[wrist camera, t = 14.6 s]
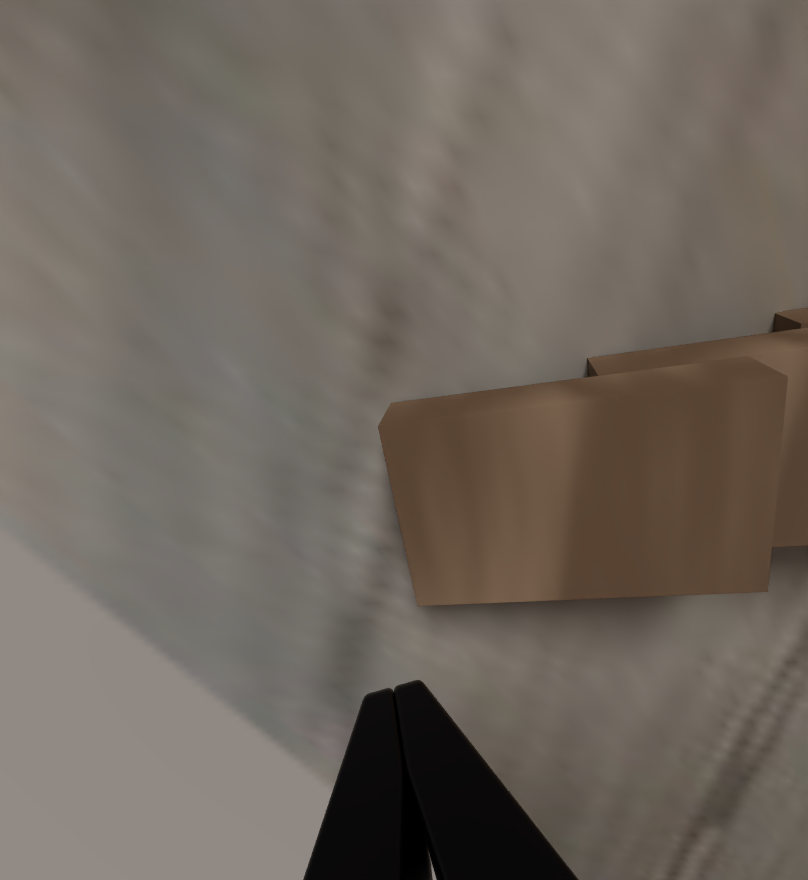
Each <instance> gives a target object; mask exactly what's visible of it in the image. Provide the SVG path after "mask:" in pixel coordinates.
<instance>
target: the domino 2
mask: <svg viewBox="0 0 808 880" xmlns="http://www.w3.org/2000/svg"><path fill="white" fill-rule="evenodd" d="M746 356H749V357H751V358H753V359H755V360H757V361H759V362H761V363H763V364H765V365H767V366H768V367H770V368H772V369H774V370H776V371H778V372H780V373H782V374H784V375H786V376H788V383H787V393H786V404H785V415H784V425H783V436H782V446H781V457H780V467H779V478H778V488H777V499H776V510H775V520H774V531H773V541H772V547H788V546H808V328H801V329H794V330H787V331H780V332H772V333H765V334H758V335H751V336H744V337H736V338H729V339H722V340H715V341H707V342H700V343H693V344H686V345H679V346H671V347H664V348H657V349H650V350H643V351H635V352H628V353H621V354H614V355H606V356H599V357H592V358H587V360H588V377H593V376H601V375H609V374H616V373H624V372H632V371H639V370H647V369H654V368H662V367H670V366H677V365H685V364H692V363H700V362H708V361H715V360H723V359H731V358H738V357H746Z"/></svg>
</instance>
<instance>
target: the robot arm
mask: <svg viewBox="0 0 808 880" xmlns="http://www.w3.org/2000/svg"><path fill="white" fill-rule="evenodd" d="M428 850H429V851H428ZM429 854H430V857H431V861H432V865H433V868H434V872H435V875H436V879H437V880H578V879H577V877H576V876H575V875H574V873H573V872H572V871H571V870H570V868H569V867H568V866H567V865H566V863H565V862H564V861H563V859H562V858H561V857H560V856H559V854H558V853H557V852H556V851H555V849H554V848H553V847H552V845H551V844H550V843H549V842H548V840H547V839H546V838H545V837H544V835H543V834H542V833H541V832H540V830H539V829H538V828H537V826H536V825H535V824H534V823H533V821H532V820H531V819H530V818H529V816H528V815H527V814H526V812H525V811H524V810H523V809H522V807H521V806H520V805H519V804H518V802H517V801H516V800H515V798H514V797H513V796H512V795H511V793H510V792H509V791H508V790H507V788H506V787H505V786H504V784H503V783H502V782H501V781H500V779H499V778H498V777H497V776H496V774H495V773H494V772H493V770H492V769H491V768H490V767H489V765H488V764H487V763H486V762H485V760H484V759H483V758H482V756H481V755H480V754H479V753H478V751H477V750H476V749H475V748H474V746H473V745H472V744H471V743H470V741H469V740H468V739H467V737H466V736H465V735H464V734H463V732H462V731H461V730H460V729H459V727H458V726H457V725H456V723H455V722H454V721H453V720H452V718H451V717H450V716H449V715H448V713H447V712H446V711H445V709H444V708H443V707H442V706H441V704H440V703H439V702H438V701H437V699H436V698H435V697H434V695H433V694H432V693H431V692H430V690H429V689H428V688H427V687H426V685H425V684H424V683H423V682H422V681H420V680H415V681H412V682H408V683H405V684H401V685H398V686H396V687H395V689H394V691H393V690H392V689H390V688H387V689H383V690H379V691H376V692H372V693H369V694H367V695H366V696H365V697H364V699H363V701H362V704H361V707H360V710H359V713H358V716H357V719H356V722H355V725H354V728H353V731H352V734H351V737H350V740H349V743H348V746H347V749H346V752H345V755H344V758H343V761H342V764H341V767H340V770H339V774H338V777H337V780H336V783H335V786H334V789H333V792H332V795H331V798H330V801H329V804H328V807H327V810H326V813H325V816H324V819H323V822H322V825H321V828H320V831H319V834H318V837H317V840H316V843H315V846H314V849H313V852H312V855H311V858H310V861H309V864H308V868H307V870H306V873H305V876H304V879H303V880H433V879H432V870H431V863H430V857H429Z"/></svg>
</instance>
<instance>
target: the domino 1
mask: <svg viewBox="0 0 808 880" xmlns="http://www.w3.org/2000/svg"><path fill="white" fill-rule="evenodd" d="M787 383H788V376H786V375H784V374H782V373H780V372H778V371H776V370H774V369H772V368H770V367H768V366H767V365H765V364H763V363H761V362H759V361H757V360H755V359H753V358H751V357H749V356H746V357H738V358H731V359H723V360H715V361H708V362H700V363H692V364H685V365H677V366H670V367H662V368H654V369H647V370H639V371H632V372H624V373H616V374H609V375H601V376H593V377H586V378H578V379H571V380H563V381H555V382H548V383H540V384H532V385H525V386H517V387H510V388H502V389H494V390H487V391H479V392H472V393H464V394H456V395H449V396H441V397H433V398H426V399H418V400H411V401H403V402H395V403H391V404H390V406H389V408H388V409H387V411H386V413H385V415H384V417H383V418H382V420H381V422H380V424H379V426H378V429H379V433H380V438H381V442H382V447H383V452H384V456H385V461H386V465H387V470H388V474H389V479H390V483H391V488H392V492H393V497H394V501H395V506H396V510H397V515H398V519H399V524H400V529H401V533H402V538H403V542H404V547H405V551H406V556H407V560H408V565H409V569H410V574H411V578H412V583H413V587H414V592H415V597H416V601H417V606H430V605H455V604H479V603H504V602H528V601H553V600H577V599H602V598H626V597H651V596H675V595H700V594H725V593H749V592H768V583H769V573H770V562H771V552H772V541H773V531H774V520H775V510H776V499H777V488H778V478H779V467H780V457H781V446H782V436H783V425H784V415H785V404H786V393H787Z"/></svg>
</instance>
